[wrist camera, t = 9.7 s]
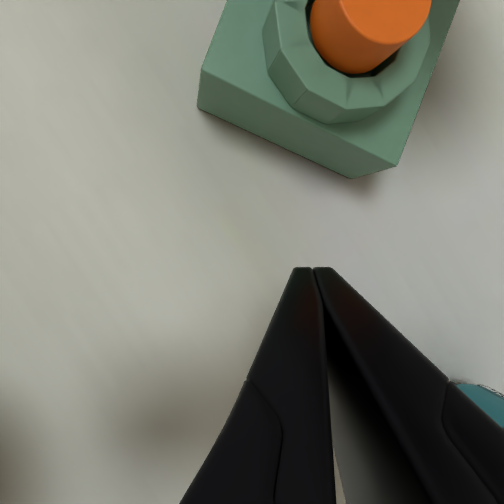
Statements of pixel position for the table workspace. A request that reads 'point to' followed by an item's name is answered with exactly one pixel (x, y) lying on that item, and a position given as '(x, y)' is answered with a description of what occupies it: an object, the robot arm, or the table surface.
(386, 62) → the kettle base
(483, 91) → the table surface
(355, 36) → the button
